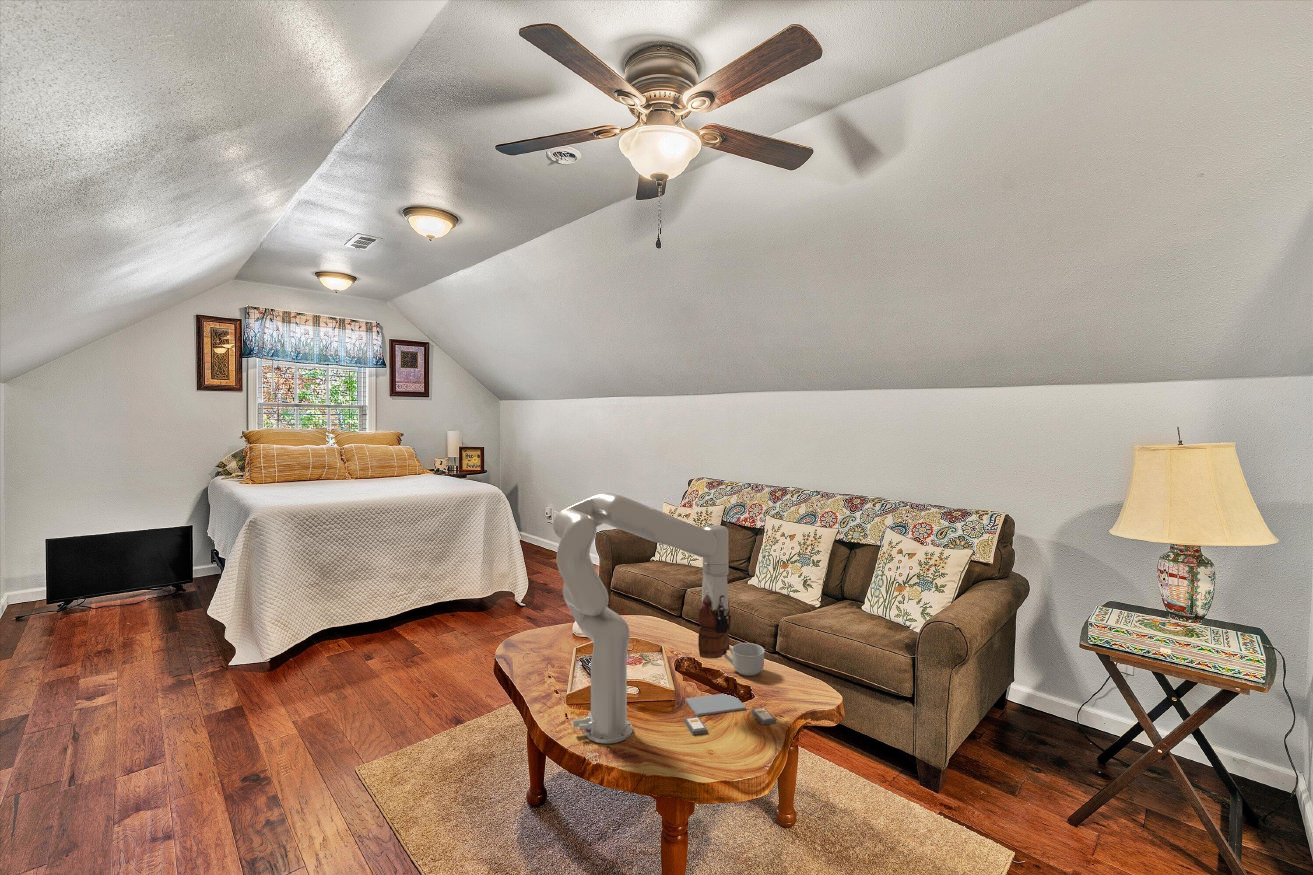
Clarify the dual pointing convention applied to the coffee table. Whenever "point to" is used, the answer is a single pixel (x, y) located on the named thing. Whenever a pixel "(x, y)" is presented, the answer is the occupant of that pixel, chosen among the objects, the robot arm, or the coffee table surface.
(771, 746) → the coffee table surface
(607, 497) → the robot arm
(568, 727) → the coffee table surface
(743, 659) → the teacup
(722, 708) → the mat
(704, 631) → the wooden figurine
